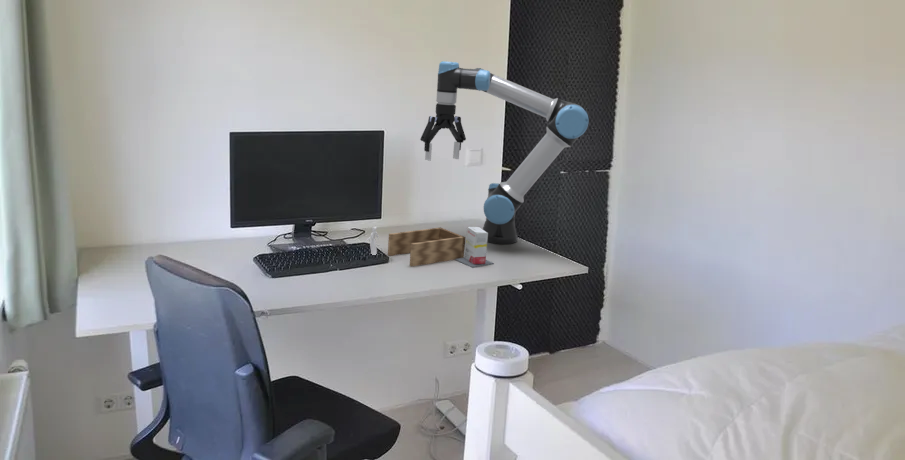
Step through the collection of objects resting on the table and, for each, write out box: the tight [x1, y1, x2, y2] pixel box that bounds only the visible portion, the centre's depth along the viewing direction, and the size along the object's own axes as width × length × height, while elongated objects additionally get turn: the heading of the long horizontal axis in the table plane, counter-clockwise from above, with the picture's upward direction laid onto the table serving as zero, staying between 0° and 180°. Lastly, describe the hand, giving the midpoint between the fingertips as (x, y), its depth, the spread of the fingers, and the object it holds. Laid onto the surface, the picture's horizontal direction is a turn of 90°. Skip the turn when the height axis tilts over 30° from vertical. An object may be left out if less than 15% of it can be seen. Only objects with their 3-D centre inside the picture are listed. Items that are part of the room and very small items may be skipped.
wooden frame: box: [387, 226, 467, 267], centre depth 259 cm, size 24×15×8 cm, turn 129°
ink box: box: [464, 226, 488, 264], centre depth 256 cm, size 9×5×12 cm, turn 23°
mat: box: [454, 256, 494, 269], centre depth 258 cm, size 10×10×1 cm
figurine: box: [364, 225, 380, 255], centre depth 252 cm, size 9×9×12 cm
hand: (442, 159), depth 273 cm, fingers open, 13 cm apart
